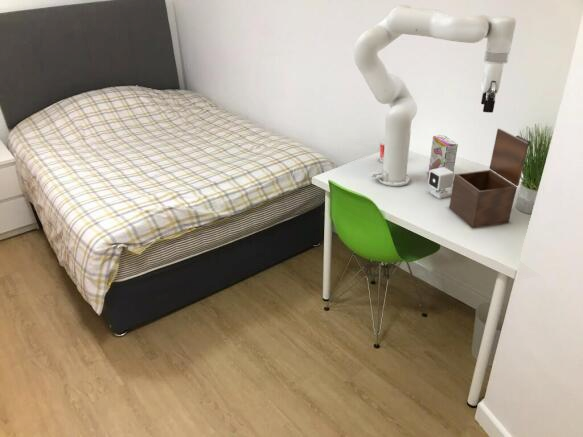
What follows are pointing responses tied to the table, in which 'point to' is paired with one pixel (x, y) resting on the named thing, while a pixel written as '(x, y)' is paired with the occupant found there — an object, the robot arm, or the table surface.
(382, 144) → the beverage cup
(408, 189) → the table surface
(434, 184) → the security camera
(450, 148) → the candy bar box
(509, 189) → the storage box
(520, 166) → the lid
